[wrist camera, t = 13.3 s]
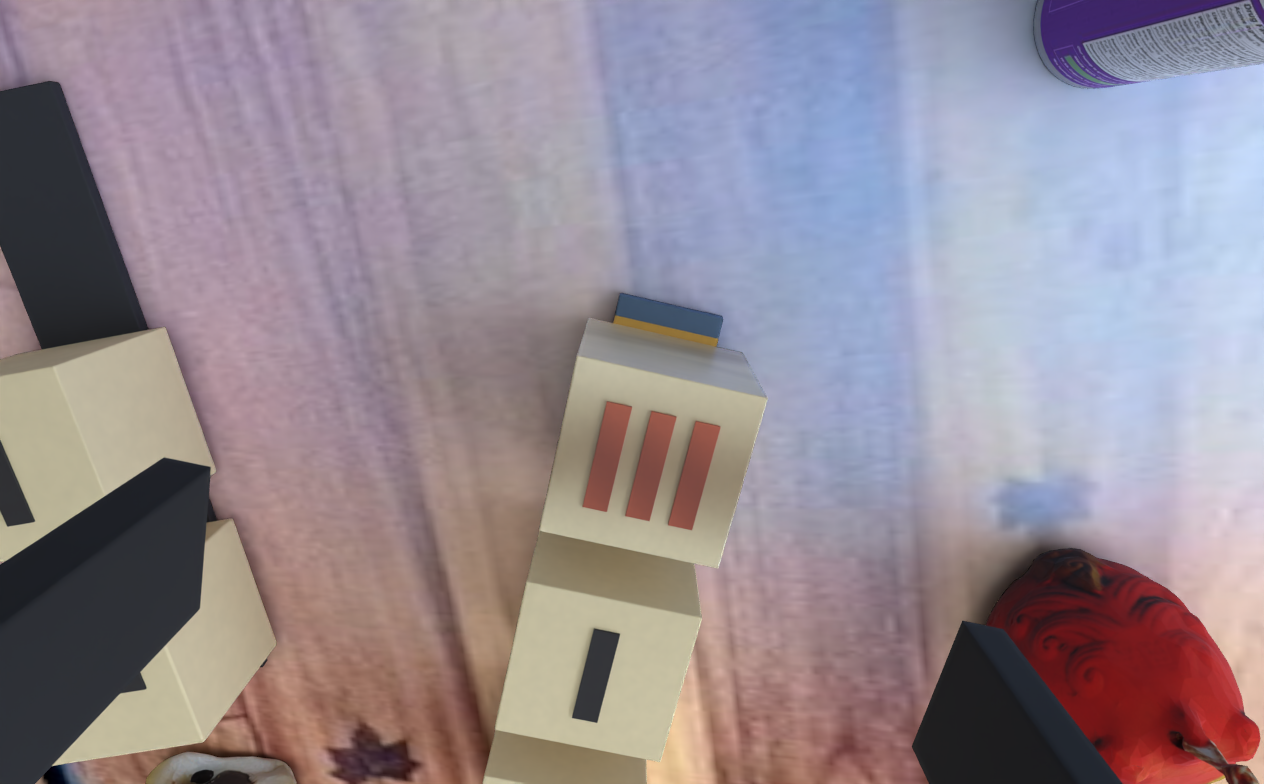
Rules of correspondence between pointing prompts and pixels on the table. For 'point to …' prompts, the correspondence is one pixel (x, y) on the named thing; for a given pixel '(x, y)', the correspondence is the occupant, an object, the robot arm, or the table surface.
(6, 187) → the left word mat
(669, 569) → the right word mat
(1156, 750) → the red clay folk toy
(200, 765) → the pastry
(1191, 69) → the container
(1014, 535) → the table surface
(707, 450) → the red striped cream cube
